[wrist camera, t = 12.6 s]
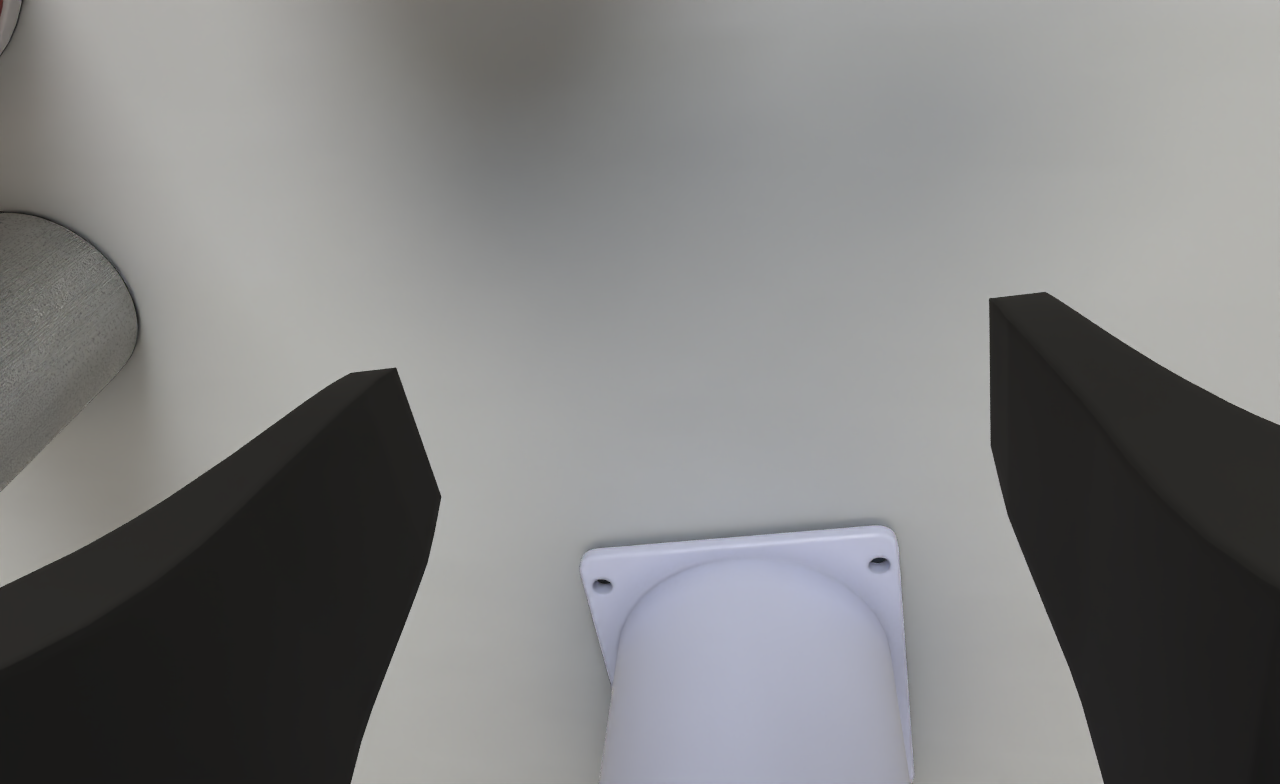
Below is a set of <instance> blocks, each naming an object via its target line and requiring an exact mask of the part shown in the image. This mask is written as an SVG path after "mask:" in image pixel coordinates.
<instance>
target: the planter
mask: <svg viewBox="0 0 1280 784" xmlns="http://www.w3.org/2000/svg"><path fill="white" fill-rule="evenodd" d="M137 330H138V329H137V317H136V312H135V308H134V304H133V301H132V299H131V296H130V294H129V292H128V290H127V288H126V286H125V284H124V282H123V280H122V279H121V277H120V275H119V274H118V273H117V271H116V270H115V269H114V268H113V266H112V265H111V264H110V263H109V262H108V260H107V259H106V258H105V257H104V256H103V255H102V254H101V253H100V252H99V251H98V250H97V249H95V248H94V247H93V246H92V245H91V244H89V243H88V242H87V241H85V240H84V239H83V238H81V237H80V236H78V235H77V234H75V233H74V232H72V231H70V230H68V229H66V228H64V227H62V226H60V225H58V224H56V223H53V222H51V221H48V220H46V219H43V218H40V217H36V216H31V215H26V214H19V213H0V492H1V491H2V490H3V489H4V488H5V487H6V486H7V485H8V484H9V483H10V482H11V481H12V480H13V479H14V478H15V477H16V476H17V475H18V474H19V473H20V472H21V471H22V470H23V469H24V468H25V467H26V466H27V465H28V464H29V463H30V462H31V461H32V460H33V459H34V458H35V457H36V456H37V455H38V454H39V453H40V452H41V451H42V450H43V449H44V448H45V447H46V446H47V445H48V444H49V442H50V441H51V440H52V439H53V438H54V437H55V436H56V435H57V434H58V433H59V432H60V431H61V430H62V429H63V428H64V427H65V426H66V425H67V424H68V423H69V422H70V421H71V420H72V419H73V418H74V417H75V416H76V415H77V414H78V413H79V412H80V411H81V410H82V409H83V408H84V407H85V406H86V405H87V404H88V403H89V402H90V401H91V400H92V399H93V398H94V397H95V396H96V395H97V394H98V393H99V392H100V391H101V390H102V389H103V388H104V387H105V386H106V385H107V384H108V383H109V382H110V381H111V380H112V379H113V378H114V377H115V375H116V374H117V373H118V372H119V371H120V369H121V368H122V367H123V366H124V365H125V363H126V362H127V361H128V359H129V358H130V356H131V354H132V353H133V350H134V347H135V344H136V339H137Z"/></svg>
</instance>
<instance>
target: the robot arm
mask: <svg viewBox="0 0 1280 784" xmlns="http://www.w3.org/2000/svg"><path fill="white" fill-rule="evenodd" d="M989 318H990V420H991V448H992V453H993V457H994V461H995V465H996V470H997V474H998V478H999V482H1000V486H1001V490H1002V494H1003V498H1004V502H1005V506H1006V510H1007V514H1008V517H1009V519H1010V522H1011V524H1012V527H1013V530H1014V532H1015V535H1016V537H1017V540H1018V542H1019V545H1020V547H1021V550H1022V552H1023V555H1024V557H1025V560H1026V562H1027V565H1028V567H1029V570H1030V572H1031V575H1032V577H1033V580H1034V582H1035V585H1036V587H1037V589H1038V592H1039V594H1040V597H1041V599H1042V602H1043V604H1044V607H1045V609H1046V612H1047V614H1048V617H1049V619H1050V621H1051V624H1052V626H1053V629H1054V631H1055V634H1056V636H1057V639H1058V641H1059V644H1060V646H1061V649H1062V651H1063V653H1064V656H1065V658H1066V661H1067V663H1068V666H1069V668H1070V671H1071V674H1072V677H1073V680H1074V683H1075V685H1076V688H1077V691H1078V694H1079V697H1080V700H1081V703H1082V706H1083V709H1084V713H1085V717H1086V720H1087V724H1088V727H1089V731H1090V735H1091V738H1092V742H1093V745H1094V749H1095V753H1096V756H1097V760H1098V763H1099V767H1100V771H1101V774H1102V778H1103V781H1104V784H1280V425H1278V424H1275V423H1273V422H1271V421H1268V420H1266V419H1264V418H1261V417H1259V416H1257V415H1254V414H1252V413H1250V412H1248V411H1246V410H1244V409H1242V408H1239V407H1237V406H1235V405H1233V404H1231V403H1229V402H1227V401H1225V400H1223V399H1221V398H1219V397H1218V396H1216V395H1214V394H1212V393H1210V392H1208V391H1206V390H1204V389H1202V388H1200V387H1199V386H1197V385H1195V384H1193V383H1191V382H1189V381H1187V380H1185V379H1183V378H1182V377H1180V376H1178V375H1176V374H1175V373H1173V372H1171V371H1169V370H1168V369H1166V368H1164V367H1163V366H1161V365H1159V364H1157V363H1156V362H1154V361H1152V360H1151V359H1149V358H1147V357H1146V356H1144V355H1143V354H1141V353H1139V352H1138V351H1136V350H1135V349H1133V348H1131V347H1130V346H1128V345H1126V344H1125V343H1123V342H1122V341H1120V340H1119V339H1117V338H1116V337H1114V336H1112V335H1111V334H1109V333H1108V332H1106V331H1105V330H1103V329H1102V328H1100V327H1099V326H1097V325H1096V324H1094V323H1093V322H1091V321H1090V320H1088V319H1087V318H1085V317H1084V316H1082V315H1081V314H1079V313H1078V312H1076V311H1075V310H1073V309H1072V308H1070V307H1069V306H1067V305H1066V304H1064V303H1063V302H1061V301H1060V300H1058V299H1056V298H1055V297H1053V296H1051V295H1050V294H1048V293H1046V292H1041V293H1033V294H1024V295H1016V296H1007V297H998V298H990V299H989ZM440 501H441V495H440V492H439V489H438V486H437V483H436V480H435V477H434V475H433V472H432V469H431V466H430V463H429V460H428V457H427V455H426V452H425V449H424V446H423V443H422V440H421V437H420V435H419V432H418V429H417V426H416V423H415V420H414V417H413V415H412V412H411V409H410V406H409V403H408V400H407V397H406V395H405V392H404V389H403V386H402V383H401V380H400V377H399V375H398V372H397V369H396V368H389V369H380V370H372V371H363V372H355V373H350V374H348V375H346V376H344V377H343V378H341V379H339V380H337V381H335V382H334V383H332V384H331V385H329V386H327V387H326V388H324V389H323V390H321V391H320V392H318V393H317V394H315V395H314V396H313V397H311V398H310V399H308V400H307V401H305V402H304V403H303V404H301V405H300V406H298V407H297V408H296V409H294V410H293V411H291V412H290V413H289V414H287V415H286V416H285V417H283V418H282V419H280V420H279V421H278V422H276V423H275V424H274V425H272V426H271V427H269V428H268V429H267V430H265V431H264V432H262V433H261V434H260V435H258V436H257V437H256V438H254V439H253V440H251V441H250V442H249V443H247V444H246V445H245V446H243V447H242V448H240V449H239V450H238V451H236V452H235V453H233V454H232V455H231V456H229V457H228V458H226V459H225V460H223V461H222V462H220V463H219V464H217V465H216V466H214V467H213V468H211V469H210V470H208V471H207V472H206V473H204V474H203V475H201V476H200V477H198V478H197V479H195V480H194V481H192V482H191V483H189V484H188V485H186V486H185V487H183V488H182V489H180V490H179V491H177V492H176V493H174V494H173V495H171V496H170V497H168V498H167V499H165V500H164V501H162V502H161V503H159V504H157V505H156V506H154V507H153V508H151V509H149V510H148V511H146V512H144V513H143V514H141V515H139V516H138V517H136V518H134V519H133V520H131V521H129V522H128V523H126V524H124V525H122V526H121V527H119V528H117V529H115V530H113V531H112V532H110V533H108V534H106V535H105V536H103V537H101V538H99V539H97V540H96V541H94V542H92V543H90V544H88V545H87V546H85V547H83V548H81V549H79V550H77V551H75V552H73V553H71V554H69V555H67V556H65V557H63V558H61V559H59V560H57V561H55V562H53V563H51V564H49V565H46V566H44V567H42V568H40V569H38V570H36V571H34V572H32V573H30V574H28V575H26V576H24V577H22V578H19V579H17V580H15V581H13V582H11V583H9V584H7V585H5V586H3V587H1V588H0V784H351V780H352V776H353V772H354V768H355V764H356V760H357V757H358V753H359V749H360V745H361V741H362V738H363V735H364V732H365V729H366V726H367V723H368V720H369V717H370V714H371V711H372V708H373V705H374V703H375V700H376V698H377V695H378V692H379V690H380V687H381V685H382V682H383V679H384V677H385V674H386V672H387V669H388V667H389V664H390V661H391V659H392V656H393V654H394V651H395V648H396V646H397V643H398V641H399V638H400V635H401V633H402V630H403V628H404V625H405V622H406V620H407V617H408V615H409V612H410V609H411V607H412V604H413V601H414V599H415V596H416V593H417V590H418V588H419V585H420V582H421V580H422V577H423V574H424V571H425V568H426V566H427V563H428V558H429V554H430V550H431V545H432V541H433V537H434V532H435V527H436V522H437V516H438V511H439V506H440ZM878 557H879V558H885V559H886V560H885V561H884V562H881V563H873V562H871V560H872V559H875V558H878ZM580 575H581V579H582V582H583V586H584V590H585V593H586V597H587V600H588V604H589V608H590V611H591V615H592V619H593V622H594V626H595V629H596V633H597V637H598V640H599V644H600V647H601V651H602V655H603V658H604V662H605V666H606V669H607V673H608V676H609V680H610V684H611V687H612V695H611V702H610V709H609V716H608V723H607V729H606V736H605V743H604V750H603V757H602V764H601V771H600V778H599V784H911V783H912V782H913V780H914V776H915V775H914V760H913V746H912V732H911V717H910V703H909V689H908V674H907V660H906V646H905V631H904V617H903V602H902V588H901V574H900V559H899V546H898V541H897V537H896V534H895V533H894V532H893V531H892V530H891V529H890V528H888V527H885V526H880V525H871V526H859V527H847V528H835V529H823V530H811V531H799V532H787V533H775V534H763V535H750V536H738V537H726V538H714V539H702V540H690V541H678V542H666V543H654V544H642V545H629V546H617V547H605V548H595V549H591V550H589V551H587V552H586V553H584V555H583V557H582V558H581V562H580ZM599 579H604V580H607V581H609V582H610V583H608V584H601V583H599V582H598V581H596V580H599Z"/></svg>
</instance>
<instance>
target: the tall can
mask: <svg viewBox="0 0 1280 784" xmlns="http://www.w3.org/2000/svg"><path fill="white" fill-rule="evenodd" d="M21 1H22V0H0V55H1V53H2V51H3V50H4V48H5V47H6V45H7V44H8V42H9V40H10V37H11V35H12V33H13V30H14V28H15V26H16V23H17V19H18V15H19V11H20V7H21Z"/></svg>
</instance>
